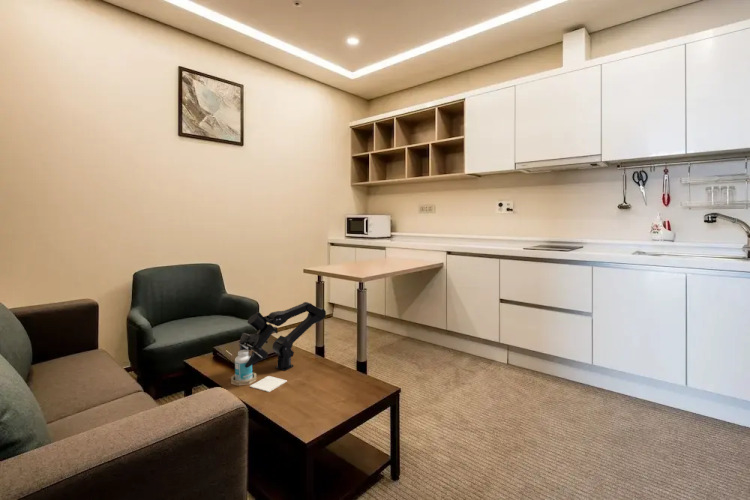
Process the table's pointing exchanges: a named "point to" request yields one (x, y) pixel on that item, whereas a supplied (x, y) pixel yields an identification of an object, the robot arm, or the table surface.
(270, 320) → the robot arm
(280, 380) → the white square cloth
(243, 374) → the pill bottle
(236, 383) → the ring holder
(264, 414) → the table surface
